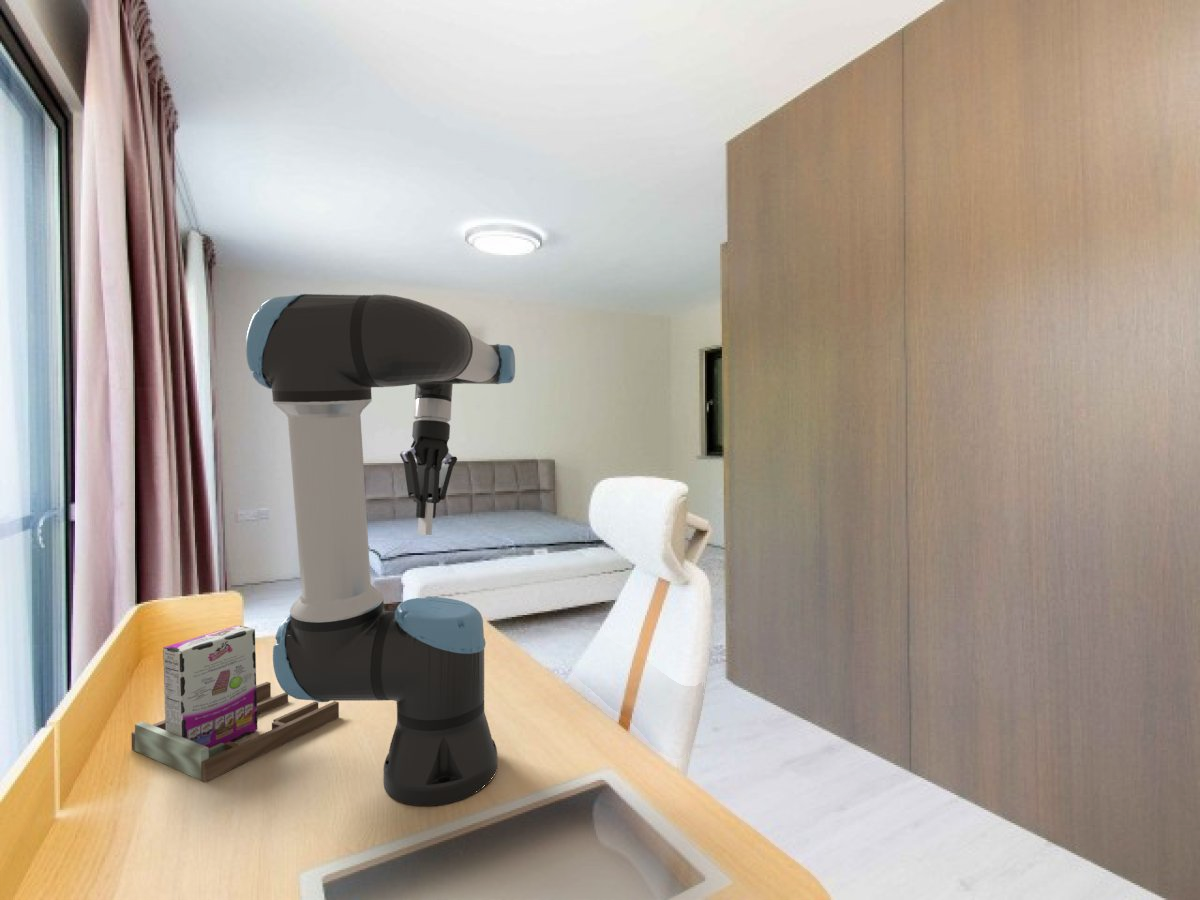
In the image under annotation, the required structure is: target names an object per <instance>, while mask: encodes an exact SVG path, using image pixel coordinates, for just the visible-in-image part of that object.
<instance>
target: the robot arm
mask: <svg viewBox="0 0 1200 900" xmlns="http://www.w3.org/2000/svg"><path fill="white" fill-rule="evenodd" d="M514 351H515V350H514V348H513V347H512V346H511V345H507V344H506V345H505V344H499V343H496V344H488V343H486V342H484V341H482V340H481V339H479V338H477V337H476V336H473V335H472V334H471V333H470V331H469V329H468V328H467V326H466V325H465V324H464V323H463V322H462V321H461V320H459V319H458V318H457V317H455V316H454V315H452V314H450V313H448V312H446V311H443V310H442V309H439V308H437V307H434V306H432V305H429V304H426V303H423V302H420V301H417V300H414V299H411V298H405V297H402V296H397V295H390V294H321V293H320V294H311V293H299V294H297V295H285V296H283V295H282V296H275V297H272V298H270V299H268V300H266V301H265V302H263V303H262V304H261V305H259V307H258V310H257V311H256V312H255V313H253V315H252V318H251V320H250V323H249V325H248V329H247V333H246V339H245V355H246V360H247V365H248V368H249V370H250V371H251V372H253V373H252V377H253V379H254V380H255V382H257V383H258V384H259V385H260V386H263V387H265V388H267V389H269V390H271V394H272V404H273V405H274V406H276V407H277V408H278V409H279V410H280V411H281V412H283V413H284V414H285V415H286V417H287V425H288V435H289V437H288V438H289V449H290V451H289V452H290V463H291V474H292V475H291V476H292V486H293V487H292V488H293V500H294V501H293V502H294V511H295V512H294V515H295V525H296V540H297V549H298V565H299V576H300V577H299V578H300V589H301V591H300V592H301V595H300V596H299V597H298V598H297V600H295V602H293V603H292V605H291V607H290V609H289V613H290V614H289V615H287V616H286V617H285V618H284V619H283V620H282V621H281V623H280V625H279V627H278V628H277V631H276V634H275V638H274V639H275V640H276V643H275V644H274V645H273V649H272V663H273V664H272V665H273V671H274V675H275V678H276V680H277V682H278V684H279V686H280V688H281V689H282V690H283V691H284V693H287V694H288V697H291V698H294V699H296V700H301V701H302V700H305V701H313V702H315V701H316V702H318V703H328V702H334V701H336V702H338V701H341V702H342V701H344V702H346V701H348V702H349V701H351V702H352V701H354V702H355V701H356V702H357V701H371V702H372V701H394V702H396V725H395V728H394V731H393V735H392V738H391V741H390V745H389V748H388V749H389V750H388V754H387V755H386V758H385V760H384V763H383V787H384V790H385V792H386V793H387V795H388V796H390V797H391V798H392V799H394V800H395V801H398V802H400V803H404V804H407V805H413V806H421V807H422V806H423V807H424V806H437V805H445V804H450V803H453V801H454V802H458V801H460V799H461V800H463V799H466V798H468V797H470V796H473V795H475V794H476V793H477V792H476V791H478V790H479V789H481V788H482V787H483V786H484V785H486V784H487V783H488V782H489V781H490V780H491V778H492V777H493V775H494V774H495V772H496V769H497V770H498V748H497V745H496V743H495V740H494V739H493V737H492V733H491V730H490V726H489V723H488V719H487V716H486V714H485V713H486V712H485V648H486V639H485V632H484V631H485V630H484V620H483V616H482V614H481V612H480V611H479V610H478V609H477V607H475V606H473V605H472V604H469V603H467V602H465V601H463V600H462V601H461V600H458V599H454V598H449V597H438V596H437V597H436V596H425V598H424V597H423V598H421V597H415V598H410V599H406V600H404V601H402V602H400V603H399V604H398V606H397V608H396V609H395V610H393V611H392V610H385V605H384V594H383V593H382V591H381V590H380V589H378V588H376V587H375V586H374V585H372V582H371V581H372V580H371V579H372V578H371V567H370V549H369V548H370V547H369V534H368V517H367V502H366V500H367V499H366V486H365V483H366V482H365V468H364V467H365V466H364V453H363V452H364V450H363V435H362V434H363V433H362V418H361V414H362V412H363V411H364V409H366V408H367V407H368V406H369V404H371V402H373V401H372V400H373V399H372V397H373V396H372V388H390V387H392V388H393V387H403V386H409V385H415V392H414V394H415V395H414V406H413V407H414V408H413V418H414V419H415V421H413V422H412V435H411V436H412V439H413V440H412V443H411V445H410V448H408V449H407V450H403V451H401V452H400V453H399V456H400V459H401V460H402V462H403V466H404V473H405V482H406V487H407V489H406V490H407V497H408V498H409V499H411V500H413V502H414V503H416V510H415V517H416V518H418V519H417V521H418V522H417V523H418V525H417V535H424V536H426V535H429V536H430V535H433V522H434V521H433V519H435V518H436V515H437V514H436V511H437V504H438V503H440V502H441V501H443V500H445V499H446V495H447V491H448V487H449V484H450V479H451V476H452V473H453V469H454V466H455V465H456V463H457V461H458V458H457V456H453V455H452V454H450V452H449V447H448V443H449V442H448V441H449V440H450V437H451V436H450V433H451V425H450V423H449V422H450V421H451V420H452V419H451V418H452V400H453V399H452V398H453V397H452V396H453V385H461V384H463V385H464V384H467V385H468V384H470V385H471V384H472V385H474V384H476V385H477V384H479V385H488V384H489V385H500V384H510V383H512V382H513V381H514V380H515V375H516V358H515V352H514ZM496 773H497V772H496ZM495 775H496V774H495ZM491 781H492V780H491ZM491 781H490V782H491ZM487 785H488V784H487ZM487 785H486V786H487ZM481 790H482V789H481ZM475 792H476V793H475ZM478 792H479V791H478ZM472 794H473V795H472ZM457 800H458V801H457ZM449 802H450V803H449Z"/></svg>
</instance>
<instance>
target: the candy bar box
mask: <svg viewBox="0 0 1200 900" xmlns="http://www.w3.org/2000/svg"><path fill="white" fill-rule="evenodd" d="M162 649H163V651H162V657H163V685H164V687H163V688H164V689H163V690H164V692H163V693H164V716H165V717H164V720H165V730H166V731H168V732H171V733H173V734H176V735H178V736H181V737H183V738H186V739H188V740H191V741H193V742H196V743H198V744H201V745H203V746H206V747H208V748H210V747H213V746H215V745H217V744H220V743H224V744H226V743H228V742H230V741H231V742H233V743H234V742H235V741H237V740H239V739H241V738H243V737H245V736H247V735H250V734H251V733H253V732H257V730H258V715H257V704H258V702H257V693H256V686H257V662H256V660H257V659H256V658H257V657H256V628H253V627H248V626H242V625H233V626H231V627H227V628H225V629H220V630H216V631H214V632H210V633H207V634H203V635H200V636H197V637H194V638H188V639H186V640H183V641H180V642H177V643H173V644H169V645H166V646H163V647H162Z"/></svg>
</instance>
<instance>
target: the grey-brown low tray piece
mask: <svg viewBox="0 0 1200 900" xmlns="http://www.w3.org/2000/svg"><path fill="white" fill-rule="evenodd" d="M271 684H272V683H271V682H269V681H265V682H263V683H260V684H256V693H257V716H258V715H260V714H262V713H265V712H267V711H271V710H272V709H274V708H278V707H279V706H281V705H284V704H286V703H289V695H288V694H287V693H286V692H283V693H280V694H278V695H276V696H273V697H271V696H272V695H271V693H272V692H271ZM265 699H266V700H265ZM339 703H340V702H338V701H331V702H330V703H327V704H325V705H323V706H320V707H319V702H318V701H313V702H311V703H308V704H305V705H303V706H301V707H299V708H297V709H294V710H292V711H290V712H288V713H285V714H284V715H281V716H278V717H277V718H275V719H273V722H271V730H268V731H266V732H264V733H262V734H260V735H257V736H255V737H252V738H251V739H248V740H246V741H244V742H241V743H240V744H239V743H235V742H234V741H233V742H231V741H230V742H228V743H226V744H224V743H220V744H217V745H215V746H213V747H210V748H208V747H206V746H203V745H201V744H198V743H196V742H193V741H191V740H188V739H186V738H183V737H181V736H178V735H176V734H173V733H171V732H168V731H166V730H165V719H164V720H162V721H158V722H157V723H153V724H151V723H148V722H145V721H143V720H142V721H139V722H136V723H134V731H133V732H131V734H130V735H131V750H132V751H134V752H137V753H139V754H141V755H143V756H146V757H148V758H150V759H153V760H155V761H157V762H159V763H162V764H163V765H165V766H168V767H171V768H172V769H175V770H176V771H179V772H181V773H183V774H186V775H189V776H190V777H192V778H194V779H197V780H199V781H201V782H204V783H207V782H209V781H211V780H213V779H215V778H217V777H219V776H222V775H223V774H225V773H227V772H230V771H232V770H233V769H236V768H237V767H240V766H242V765H244V764H245V763H248V762H251V761H252V760H254V759H257V758H258V757H260V756H263V755H264V754H267V753H269V752H271V751H272V750H275V749H277V748H279V747H281V746H283V745H285V744H287V743H289V742H291V741H293V740H295V739H297V738H299V737H301V736H303V735H305V734H307V733H310V732H312V731H314V730H316V729H318V728H319V727H321V726H325V725H326V724H328V723H330V722H332V721H334V720H336V719H338V718H339V717H340V710H339V709H340V707H339V706H340V704H339Z"/></svg>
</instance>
